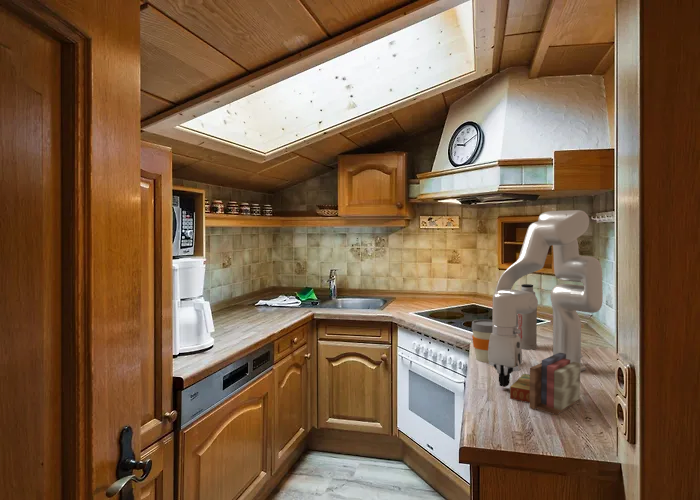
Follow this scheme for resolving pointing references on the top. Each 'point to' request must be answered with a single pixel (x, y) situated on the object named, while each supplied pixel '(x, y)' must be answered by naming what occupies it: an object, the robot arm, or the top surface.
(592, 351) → the top surface
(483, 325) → the reusable coffee cup
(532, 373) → the bookend
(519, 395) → the carton
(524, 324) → the thermos bottle
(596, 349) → the top surface
